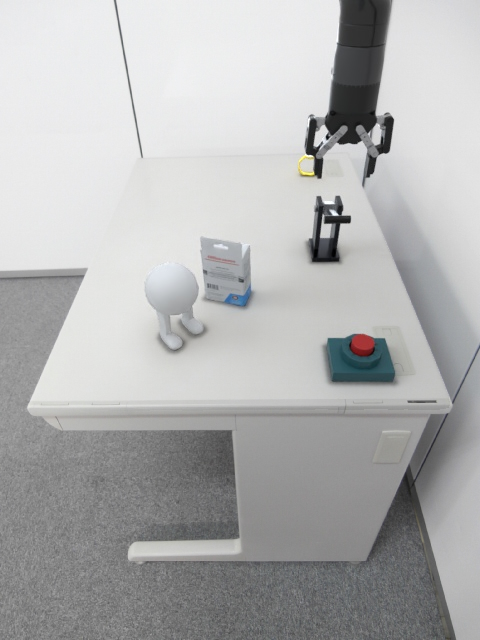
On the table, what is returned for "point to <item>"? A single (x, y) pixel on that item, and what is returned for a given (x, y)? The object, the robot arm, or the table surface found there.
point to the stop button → (362, 345)
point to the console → (359, 361)
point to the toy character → (173, 299)
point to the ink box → (226, 270)
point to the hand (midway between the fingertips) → (342, 176)
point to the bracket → (325, 246)
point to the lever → (334, 214)
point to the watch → (299, 164)
